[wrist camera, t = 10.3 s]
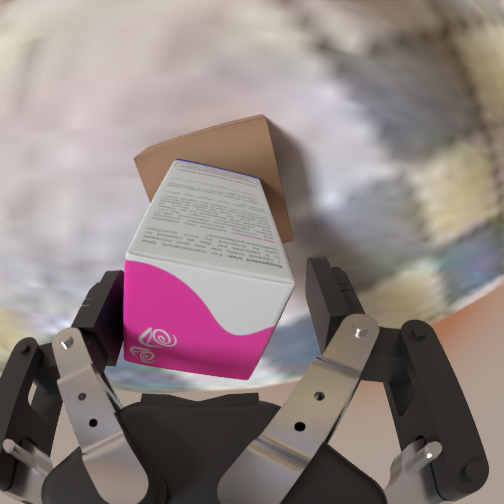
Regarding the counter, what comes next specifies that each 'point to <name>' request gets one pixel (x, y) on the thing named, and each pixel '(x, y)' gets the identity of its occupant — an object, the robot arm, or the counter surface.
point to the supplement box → (204, 275)
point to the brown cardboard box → (223, 160)
